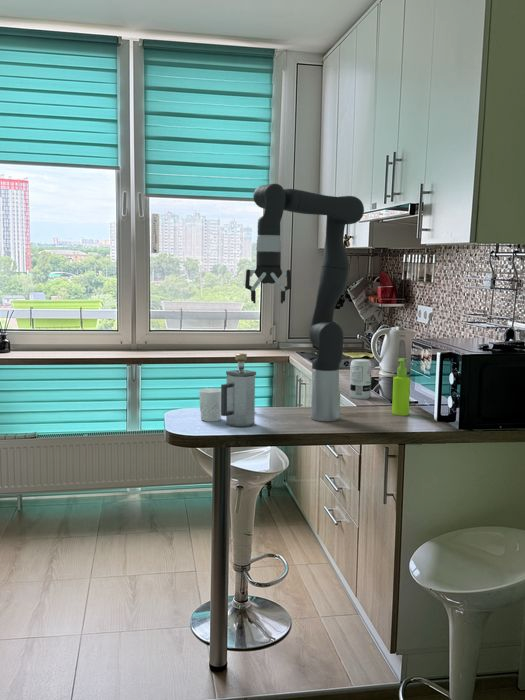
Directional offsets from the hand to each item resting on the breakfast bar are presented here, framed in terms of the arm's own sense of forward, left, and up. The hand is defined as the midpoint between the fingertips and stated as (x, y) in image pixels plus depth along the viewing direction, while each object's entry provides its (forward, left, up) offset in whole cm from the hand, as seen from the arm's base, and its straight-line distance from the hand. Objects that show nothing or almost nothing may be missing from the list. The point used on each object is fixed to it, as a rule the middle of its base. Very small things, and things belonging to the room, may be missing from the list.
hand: (267, 303), depth 208 cm
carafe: (+3, -10, -40) cm, 41 cm away
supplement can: (-65, -12, -40) cm, 77 cm away
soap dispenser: (-51, +16, -40) cm, 67 cm away
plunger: (+2, -10, -37) cm, 38 cm away
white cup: (+5, -22, -40) cm, 46 cm away
